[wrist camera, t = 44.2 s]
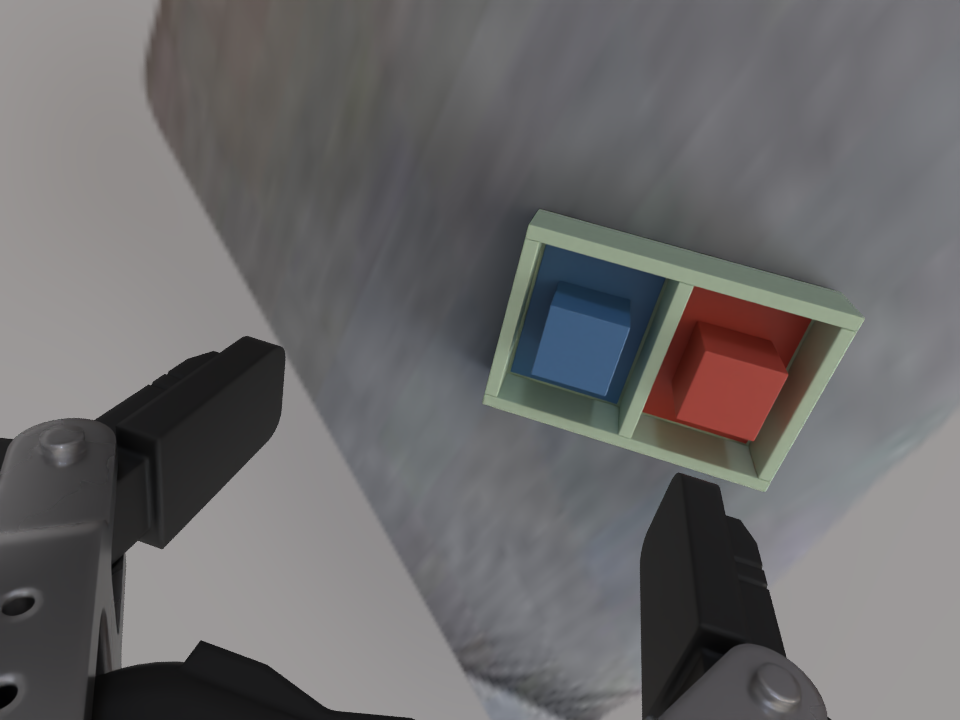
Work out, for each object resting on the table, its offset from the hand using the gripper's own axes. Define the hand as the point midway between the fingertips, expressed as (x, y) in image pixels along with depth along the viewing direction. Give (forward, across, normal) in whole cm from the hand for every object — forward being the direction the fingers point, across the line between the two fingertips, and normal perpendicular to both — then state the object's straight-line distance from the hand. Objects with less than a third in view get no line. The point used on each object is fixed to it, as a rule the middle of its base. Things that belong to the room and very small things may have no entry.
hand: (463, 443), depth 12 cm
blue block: (+25, -3, +7) cm, 26 cm away
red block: (+25, -11, +7) cm, 29 cm away
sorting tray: (+26, -7, +7) cm, 28 cm away
